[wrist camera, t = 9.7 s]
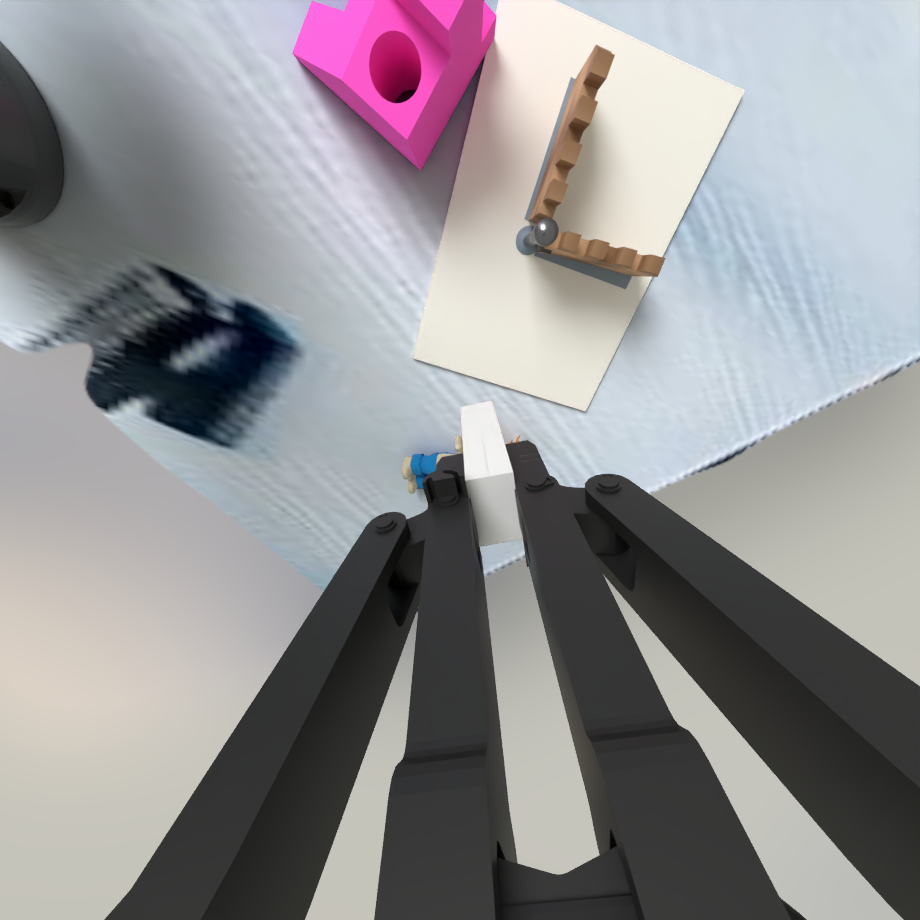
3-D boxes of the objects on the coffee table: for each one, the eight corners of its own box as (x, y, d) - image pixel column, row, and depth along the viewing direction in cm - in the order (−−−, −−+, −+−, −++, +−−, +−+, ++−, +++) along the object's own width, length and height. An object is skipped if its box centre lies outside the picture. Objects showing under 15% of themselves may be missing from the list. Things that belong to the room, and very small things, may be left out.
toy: (390, 459, 38) (533, 453, 36) (400, 420, 42) (529, 413, 40) (415, 517, 47) (531, 515, 45) (421, 480, 51) (528, 477, 49)
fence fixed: (540, 225, 34) (557, 214, 28) (528, 220, 33) (543, 209, 28) (588, 85, 29) (621, 38, 23) (574, 79, 29) (604, 30, 23)
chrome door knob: (516, 247, 34) (531, 241, 27) (522, 226, 34) (540, 214, 26) (533, 254, 35) (552, 249, 27) (540, 233, 34) (562, 222, 27)
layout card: (412, 357, 40) (412, 358, 39) (504, -20, 27) (504, -25, 26) (584, 410, 42) (585, 411, 42) (741, 92, 30) (745, 90, 29)
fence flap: (533, 253, 34) (548, 249, 29) (539, 231, 34) (556, 223, 28) (631, 279, 36) (665, 280, 30) (639, 259, 35) (676, 256, 29)
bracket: (494, 37, 28) (506, -84, 19) (420, 170, 32) (400, 125, 22) (360, -108, 25) (296, -337, 16) (297, 59, 29) (215, -47, 19)
